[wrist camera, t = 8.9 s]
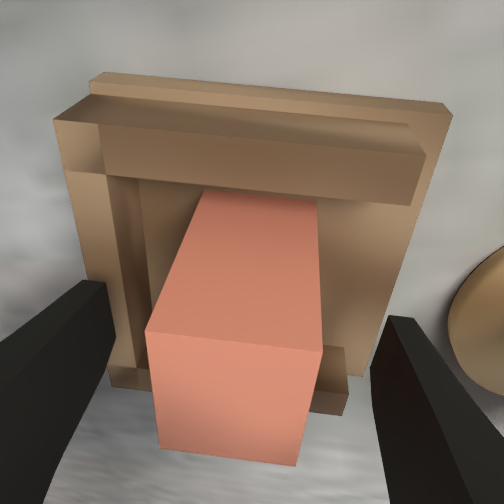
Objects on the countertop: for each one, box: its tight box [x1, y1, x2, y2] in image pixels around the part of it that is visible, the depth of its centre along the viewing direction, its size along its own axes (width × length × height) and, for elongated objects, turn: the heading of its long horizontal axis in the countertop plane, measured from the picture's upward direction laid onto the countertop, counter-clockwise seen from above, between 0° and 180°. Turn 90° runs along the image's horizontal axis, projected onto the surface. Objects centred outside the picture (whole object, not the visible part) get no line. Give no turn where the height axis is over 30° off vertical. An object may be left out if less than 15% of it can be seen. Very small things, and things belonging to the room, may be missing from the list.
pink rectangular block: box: [145, 189, 323, 467], centre depth 11 cm, size 4×3×6 cm
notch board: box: [53, 72, 453, 416], centre depth 13 cm, size 10×9×3 cm
